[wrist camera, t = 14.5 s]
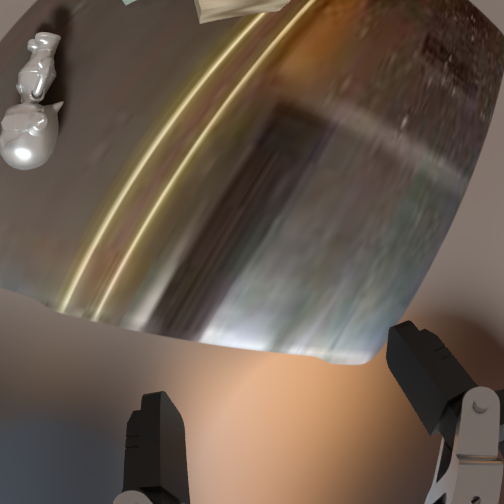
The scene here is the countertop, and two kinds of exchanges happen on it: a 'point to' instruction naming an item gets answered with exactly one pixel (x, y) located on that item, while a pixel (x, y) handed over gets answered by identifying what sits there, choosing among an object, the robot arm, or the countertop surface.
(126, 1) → the sage block
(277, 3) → the oak block
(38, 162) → the figurine
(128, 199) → the countertop surface
